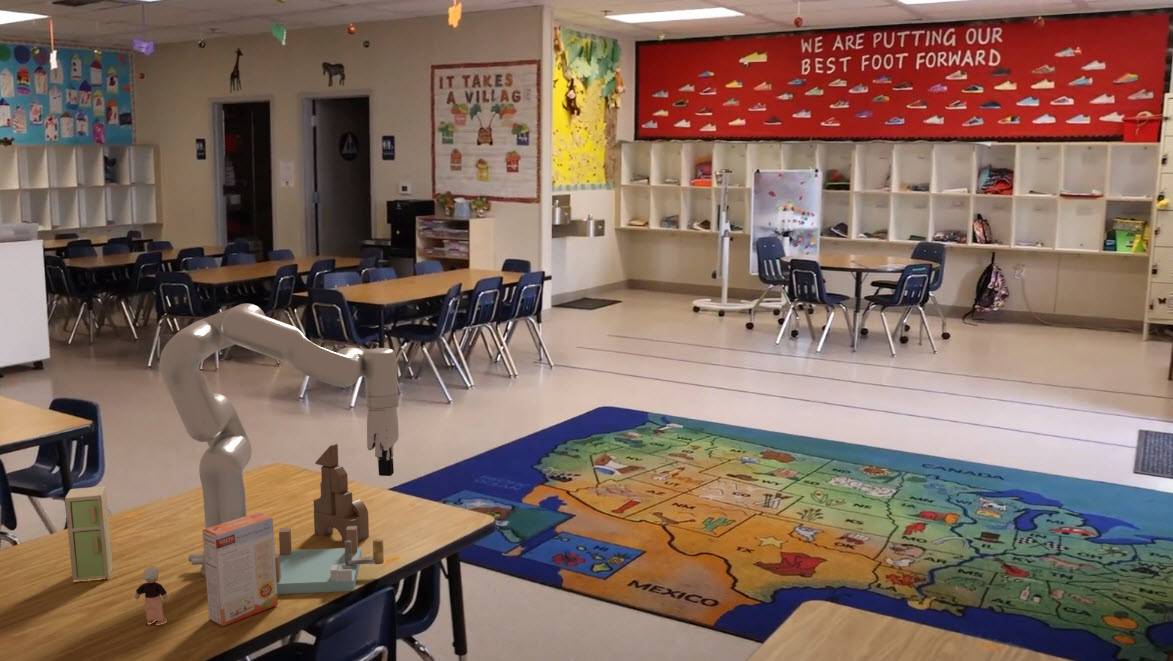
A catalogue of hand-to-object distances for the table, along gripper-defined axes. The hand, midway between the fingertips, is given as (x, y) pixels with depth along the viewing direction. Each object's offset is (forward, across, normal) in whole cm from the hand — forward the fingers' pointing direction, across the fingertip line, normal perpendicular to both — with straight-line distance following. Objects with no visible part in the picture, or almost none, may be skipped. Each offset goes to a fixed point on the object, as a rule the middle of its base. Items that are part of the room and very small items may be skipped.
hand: (386, 474), depth 254 cm
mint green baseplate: (+23, +8, -16) cm, 29 cm away
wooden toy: (+23, -18, -20) cm, 35 cm away
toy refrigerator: (+22, +18, -67) cm, 73 cm away
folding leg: (+20, +6, -4) cm, 21 cm away
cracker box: (+23, +30, -24) cm, 44 cm away
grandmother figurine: (+22, +38, -40) cm, 59 cm away
